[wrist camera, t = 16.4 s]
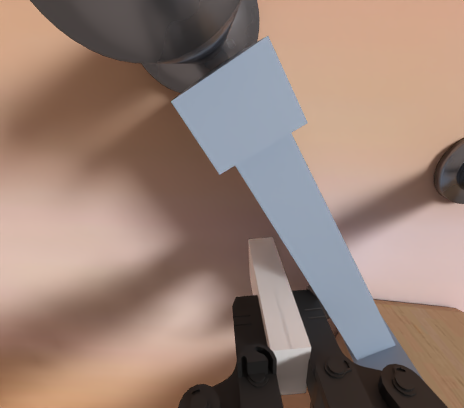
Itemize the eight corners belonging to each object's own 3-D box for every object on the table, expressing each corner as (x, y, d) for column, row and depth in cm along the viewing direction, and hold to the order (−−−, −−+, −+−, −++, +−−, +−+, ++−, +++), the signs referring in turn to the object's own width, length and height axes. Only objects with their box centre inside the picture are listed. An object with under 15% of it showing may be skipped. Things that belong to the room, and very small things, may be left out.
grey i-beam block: (356, 282, 20) (438, 411, 13) (316, 300, 21) (372, 433, 13) (238, 52, 13) (268, 35, 5) (183, 90, 14) (142, 120, 6)
